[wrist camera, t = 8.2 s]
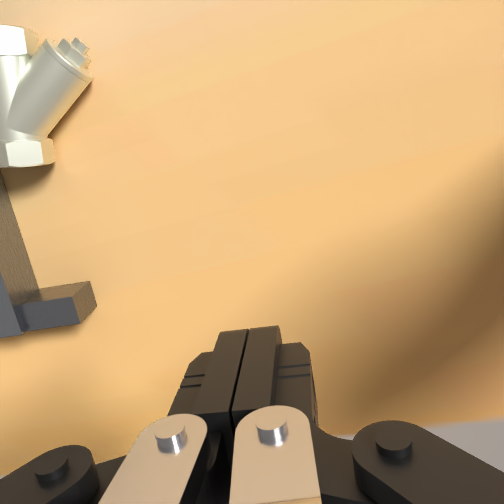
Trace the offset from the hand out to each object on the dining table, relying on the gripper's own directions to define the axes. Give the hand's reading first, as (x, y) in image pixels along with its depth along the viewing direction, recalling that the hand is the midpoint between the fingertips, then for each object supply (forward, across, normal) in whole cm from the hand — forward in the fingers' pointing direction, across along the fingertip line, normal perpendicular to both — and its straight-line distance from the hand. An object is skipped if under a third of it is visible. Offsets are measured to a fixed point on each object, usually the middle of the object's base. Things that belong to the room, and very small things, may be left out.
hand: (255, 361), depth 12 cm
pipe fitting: (+21, +14, -9) cm, 27 cm away
